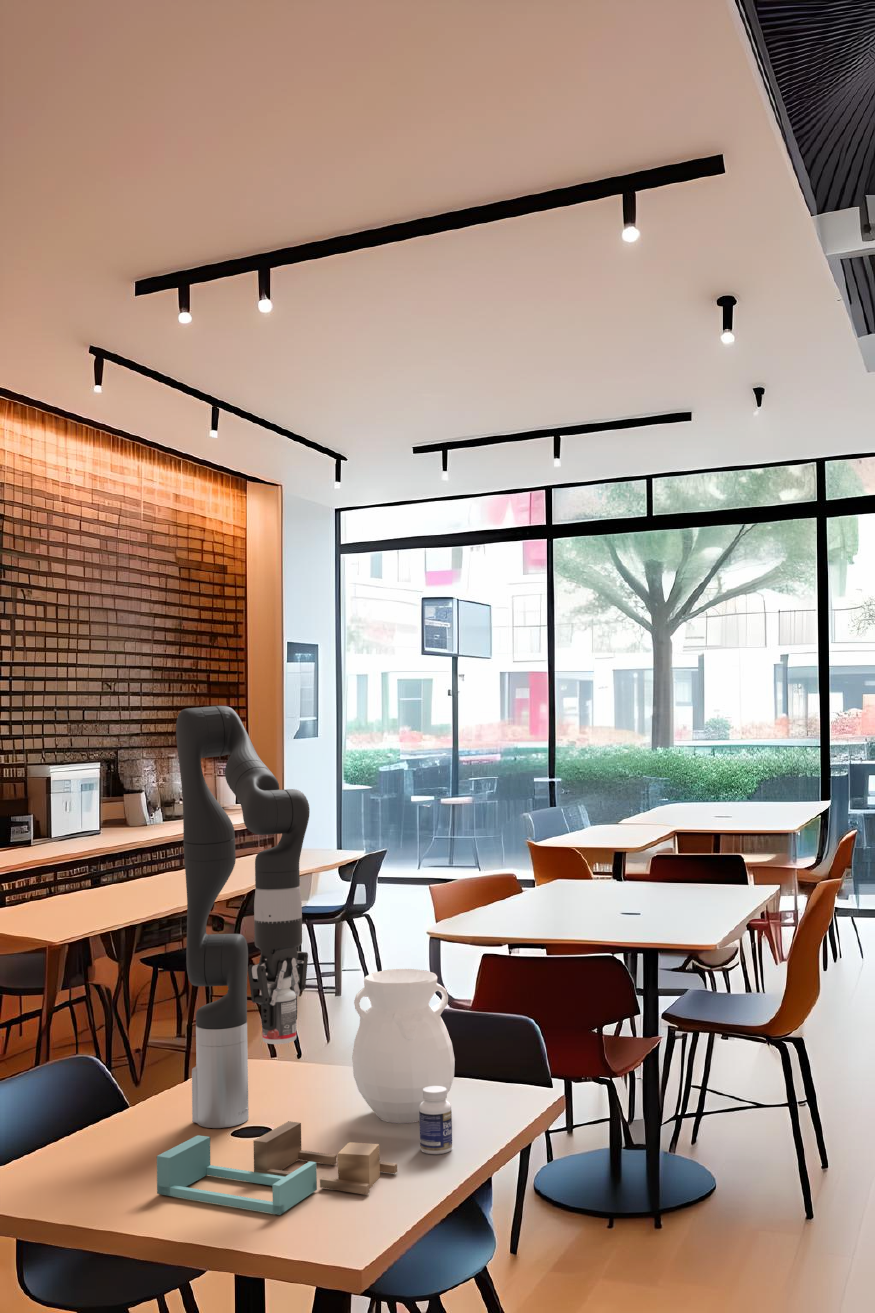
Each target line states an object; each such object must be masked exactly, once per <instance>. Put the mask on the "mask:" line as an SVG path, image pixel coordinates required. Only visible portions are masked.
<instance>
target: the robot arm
mask: <svg viewBox="0 0 875 1313" xmlns="http://www.w3.org/2000/svg"><path fill="white" fill-rule="evenodd" d="M175 726H176V727H175V736H176V745H177V746H176V747H177V749H176V750H177V755H178V756H177V757H178V764H179V774H180V781H181V794H182V813H183V814H182V817H183V818H182V820H183V821H182V822H183V831H182V833H183V834H182V835H183V838H182V840H183V858H184V870H185V871H184V872H185V884H186V886H185V887H186V904H187V905H186V906H187V907H186V908H187V909H186V911H187V914H186V955H185V956H186V962H185V964H186V971H187V972H186V973H187V978H188V981H189V983H190V984H191V985H192V986H194V987H227V988H228V989H227V992H226V994H224V995H223V996H222V997H221V998H219V999H217V1000H214V1001H212V1002H209V1003H207V1004H205V1005H202V1006H200V1007H199V1008H198V1009H197V1010H196V1013H195V1043H196V1044H195V1049H196V1050H195V1051H196V1052H195V1053H196V1057H195V1058H196V1062H195V1064H196V1065H195V1066H194V1067H192V1069H191V1109H192V1110H191V1114H192V1119H191V1121H192V1122H191V1123H195V1124H197V1125H199V1126H200V1127H203V1128H207V1129H208V1128H212V1129H221V1128H231V1127H235V1126H239V1125H241V1124H243V1123H245V1122H247V1121H249V1117H250V1116H249V1067H248V1066H249V1065H248V1064H249V1061H248V1059H249V1058H248V1057H249V1056H248V982H249V989H250V996H251V1003H254V1004H259V1005H260V1008H261V1010H260V1013H261V1014H260V1015H261V1019H260V1021H261V1029H262V1028H263V1029H264V1030H274V1029H275V1028H276V1005H275V1003H276V998H277V993H278V991H279V990H280V989H281V986H282V981H283V979H284V978H287V977H291V987H290V990H293V991H294V992H295V994H296V1021H297V1020H298V997H299V996H300V995H301V994H300V992H301V991H304V990H305V989H306V987H307V986H306V985H307V974H308V973H307V972H308V964H309V963H308V962H309V961H308V960H309V954H308V952H307V951H305V952H304V951H298V949H297V948H298V947H300V946H301V945H302V943H303V914H302V913H303V911H302V909H303V907H302V906H303V905H302V894H301V888H300V886H301V884H300V883H301V882H300V881H301V880H300V879H301V878H300V876H301V875H300V861H301V853H302V849H303V844H304V841H305V840H304V839H305V836H306V832H307V828H308V824H309V820H310V804H309V800H308V799H307V796H306V795H305V794H304V793H303V791H301V790H299V789H295V788H293V789H292V788H288V789H280V785H279V784H280V783H279V781H278V779H277V777H276V776H275V774H273V772H272V771H271V770H270V769H269V767H268V766H267V765H266V764H265V763H264V762H263V761H262V759H261V758H260V756H259V755H258V753H257V750H256V749H255V747H254V745H253V743H252V741H251V738H250V735H249V734H248V732H247V729H246V727H245V726H244V723H243V722H242V719H241V718H240V716H239V714H238V713H237V712H236V711H235V710H234V709H233V708H232V707H229V706H227V705H214V706H203V707H202V706H201V707H191V708H190V707H188V708H184V709H181V710H180V712H178V714H177V717H176V724H175ZM227 755H229V758H228V760H227V762H226V765H225V770H224V776H225V781H226V785H228V787H229V789H230V791H232V794H234V796H235V797H236V798H237V800H238V802H239V803H240V804H239V805H240V807H241V812H242V819H243V824H244V826H245V828H246V829H247V830H248V831H249V832H251V833H253V834H254V835H258V836H266V835H267V836H268V835H269V836H270V835H280V834H281V837H280V838H279V841H278V843H277V845H275V846H273V847H271V848H267V849H264V850H261V851H259V852H258V853H257V854H256V856H255V858H254V859H255V861H254V882H255V883H254V887H255V889H254V890H255V893H254V899H253V900H254V902H253V912H254V913H253V914H254V916H253V917H254V918H253V919H254V920H253V922H254V923H253V924H254V927H253V928H254V930H253V931H254V946H255V947H256V948H257V949H259V950H260V955H259V956H260V957H259V961H258V963H257V964H249V947H248V942H247V939H246V937H245V935H243V934H241V933H216V934H215V933H210V934H208V933H207V923H208V919H209V915H210V913H211V910H212V908H213V907H214V904H215V901H217V900H216V899H217V898H218V896H219V895H220V893H221V891H222V890H223V888H224V887H225V885H226V883H227V882H228V880H229V878H230V876H231V875H232V873H233V871H234V869H235V866H236V865H235V864H236V859H237V858H236V839H235V838H236V837H235V828H234V824H233V822H232V821H231V818H230V817H229V815H228V814H227V812H226V811H225V809H224V808H223V806H222V805H221V804H220V803H219V801H218V800H217V799H216V798H215V796H214V794H213V793H212V792H211V790H210V788H209V786H208V784H207V783H206V779H205V777H204V773H203V769H202V768H203V767H202V759H206V758H214V757H225V756H227ZM248 964H249V965H248ZM267 981H269V982H275V983H274V984H267ZM259 990H260V991H259ZM268 990H271V994H270V997H269V993H268Z"/></svg>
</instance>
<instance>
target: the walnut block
mask: <svg viewBox="0 0 875 1313" xmlns="http://www.w3.org/2000/svg"><path fill="white" fill-rule="evenodd" d="M380 1157H381V1156H380V1144H379V1143H365V1142H348V1143H346V1144H345V1146H343V1147H342V1148H341V1150H339V1151H338V1153H337V1173H338V1174H337V1175H338V1177H337V1179H340V1180H347V1181H353V1182H360V1183H366V1184H369V1188H370V1189H371V1188H372V1187H373V1186H374V1185H375V1183H376V1182H377V1181H378V1180H379V1179H380V1177H381V1172H380V1161H381V1160H380Z"/></svg>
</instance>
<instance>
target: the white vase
mask: <svg viewBox="0 0 875 1313" xmlns="http://www.w3.org/2000/svg"><path fill="white" fill-rule="evenodd" d="M438 978H439V977H438V975H437V974H436V973H435V972H432V971H429V970H424V969H423V970H422V969H417V968H416V969H414V968H413V969H412V968H394V969H393V968H392V969H385V970H380V971H376V972H372V973H369V974H367V975H366V976H365V977H364V979H363V984H364V987H363V988H362V989H361V990H359V991H358V993H356V994H355V998H354V1000H353V1005H354V1009H355V1012H356V1013H357V1014H358V1017H359V1026H358V1028H357V1031H356V1034H355V1038H354V1040H353V1042H354V1043H353V1048H352V1057H351V1058H352V1059H351V1060H352V1072H353V1078H354V1081H355V1084H356V1087H357V1090H358V1092H359V1094H360V1095H361V1097H362V1098H363V1099H364V1101H365V1103H366V1104H367V1106H368V1107H369V1108H370V1109H371V1110H372V1111H373V1113H374V1114H375V1115H376V1116H377V1117H378V1119H379V1120H382V1121H383V1122H387V1123H393V1124H411V1123H412V1124H413V1123H415V1122H416V1123H417V1122H419V1106H420V1104H421V1103H422V1102H423V1101H424V1099H423V1089H424V1088H425V1087H429V1086H442V1087H445V1088H446V1089H447V1095H448V1094H449V1092H450V1090H451V1088H452V1084H453V1081H454V1078H455V1061H456V1058H455V1054H454V1047H453V1042H452V1040H451V1038H450V1035H449V1031H448V1029H447V1026H446V1024H445V1022H444V1020H443V1018H442V1016H441V1015H442V1014H443V1013H444V1012H443V1011H444V1010H445V1009H446V1008H447V1006H448V1002H449V995H448V991H447V989H446V988H445V987H444V986H442V985H441V984H439V983H438ZM436 992H439V993H440V994H441V1000H440V1001H439V1002H438V1003H437V1004H435V1005H433V1006H432V1007H431V1005H430V1002H431V999H432V998H433V996H434V995H435V993H436ZM363 997H364V998H365V997H367V998H368V999H369V1002H370V1007H369V1008H368V1009H366V1010H364V1009H363V1008H362V1007H361V1005H360V1002H361V1000H362V998H363Z"/></svg>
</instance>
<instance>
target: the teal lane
mask: <svg viewBox="0 0 875 1313" xmlns="http://www.w3.org/2000/svg"><path fill="white" fill-rule="evenodd" d="M291 1172H292V1173H290V1174H289V1175H287V1176H285V1177H284V1176H278V1175H271V1174H265V1173H258V1172H254V1171H250V1170H243V1169H237V1168H232V1167H231V1168H230V1167H225V1166H218V1165H213V1164H211V1136H206V1135H194V1136H193V1137H191V1138H189V1139H188V1140H186V1141H184V1142H181V1143H180V1144H178V1145H175V1146H174V1147H171V1148H170V1149H168V1150H165V1151H163V1152H162V1153H160V1154H158V1155H156V1194H157V1195H163V1196H167V1197H174V1198H180V1199H186V1200H193V1201H198V1202H203V1203H209V1204H210V1203H211V1204H214V1205H220V1206H228V1207H233V1208H238V1209H243V1210H250V1211H255V1212H262V1213H267V1214H272V1215H278V1216H279V1215H282V1214H284V1213H285V1212H287V1211H288V1210H289V1209H291V1208H292V1207H294V1206H295V1205H297V1204H298V1203H300V1202H301V1201H303V1200H304V1199H305V1198H307V1197H308V1196H310V1195H311V1194H313V1193H315V1192H316V1191H317V1190H318V1187H317V1186H318V1184H317V1183H318V1182H317V1181H318V1180H317V1178H318V1177H317V1175H318V1174H317V1162H311V1161H307V1163H305V1164H302V1165H301V1166H300V1167H298V1168H296V1169H295V1170H294V1171H291ZM206 1176H210V1177H217V1178H221V1179H222V1178H223V1179H229V1180H233V1181H234V1180H235V1181H241V1182H247V1183H254V1184H260V1185H266V1186H271V1187H272V1188H271V1189H272V1201H270V1200H265V1199H260V1198H259V1199H258V1198H253V1197H246V1196H242V1195H235V1194H229V1193H222V1192H216V1191H210V1190H205V1189H199V1188H193V1187H189V1186H190V1185H192V1184H194V1183H195V1182H196V1181H199V1180H201V1179H202V1178H204V1177H206Z"/></svg>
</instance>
